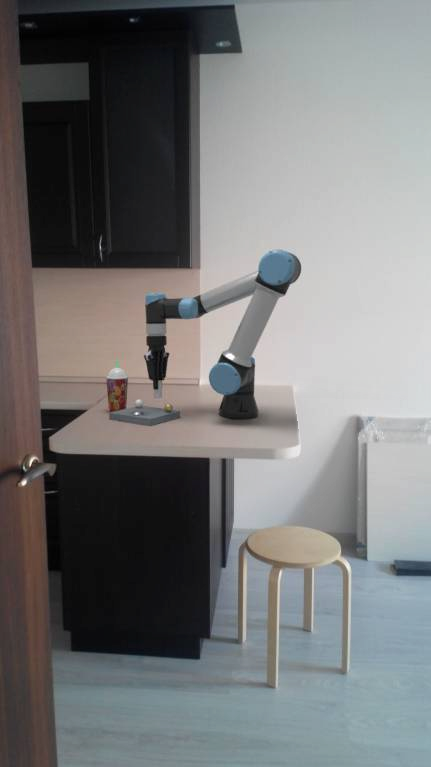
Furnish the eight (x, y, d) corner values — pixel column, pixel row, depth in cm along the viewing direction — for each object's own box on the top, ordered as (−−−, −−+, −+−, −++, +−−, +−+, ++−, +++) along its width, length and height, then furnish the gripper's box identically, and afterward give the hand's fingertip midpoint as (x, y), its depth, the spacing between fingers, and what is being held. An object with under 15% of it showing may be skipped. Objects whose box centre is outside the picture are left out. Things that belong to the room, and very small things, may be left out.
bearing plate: (180, 417, 221) (180, 411, 220) (150, 426, 205) (150, 419, 205) (140, 411, 230) (140, 405, 230) (109, 419, 215) (109, 412, 215)
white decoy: (144, 407, 226) (144, 399, 225) (139, 408, 223) (139, 400, 223) (138, 406, 228) (138, 398, 227) (133, 407, 225) (133, 399, 224)
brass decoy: (174, 411, 219) (174, 403, 218) (169, 413, 216) (169, 404, 215) (167, 410, 220) (167, 402, 220) (162, 412, 218) (162, 403, 217)
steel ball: (141, 421, 215) (144, 413, 214) (136, 422, 213) (139, 415, 212) (134, 417, 217) (137, 409, 216) (129, 418, 214) (132, 410, 213)
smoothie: (131, 410, 233) (131, 360, 230) (122, 414, 225) (122, 362, 222) (112, 408, 235) (111, 359, 232) (102, 412, 227) (102, 361, 224)
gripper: (158, 334, 226) (160, 394, 230) (137, 335, 215) (139, 399, 219) (174, 334, 223) (176, 395, 226) (153, 336, 212) (155, 400, 215)
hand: (158, 397), depth 222 cm, fingers closed
